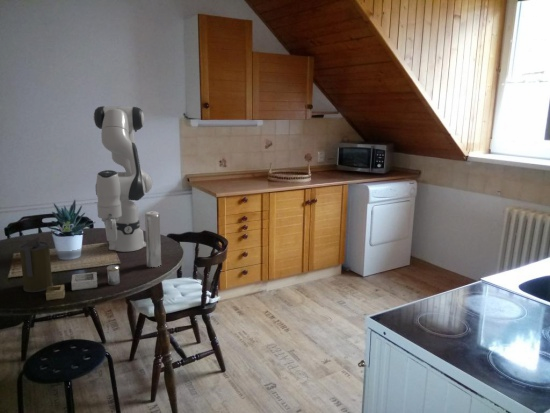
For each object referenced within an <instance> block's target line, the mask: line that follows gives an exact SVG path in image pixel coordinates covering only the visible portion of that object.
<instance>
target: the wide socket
mask: <svg viewBox="0 0 550 413" xmlns="http://www.w3.org/2000/svg"><path fill="white" fill-rule="evenodd" d="M97 274H98V273H97V271H93V272H84V273H77V274H75V273H74V274H72V275H71V290H72V291H79V290H86V289H93V288H98V276H97Z"/></svg>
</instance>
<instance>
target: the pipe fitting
mask: <svg viewBox="0 0 550 413" xmlns="http://www.w3.org/2000/svg"><path fill="white" fill-rule="evenodd" d="M106 271H107V282H108V283H107V284H108V285H109V286H115V285H119V284H120V281H121V280H120V279H121V278H120V265H119V264H110V265H108V266H107V267H106Z"/></svg>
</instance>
